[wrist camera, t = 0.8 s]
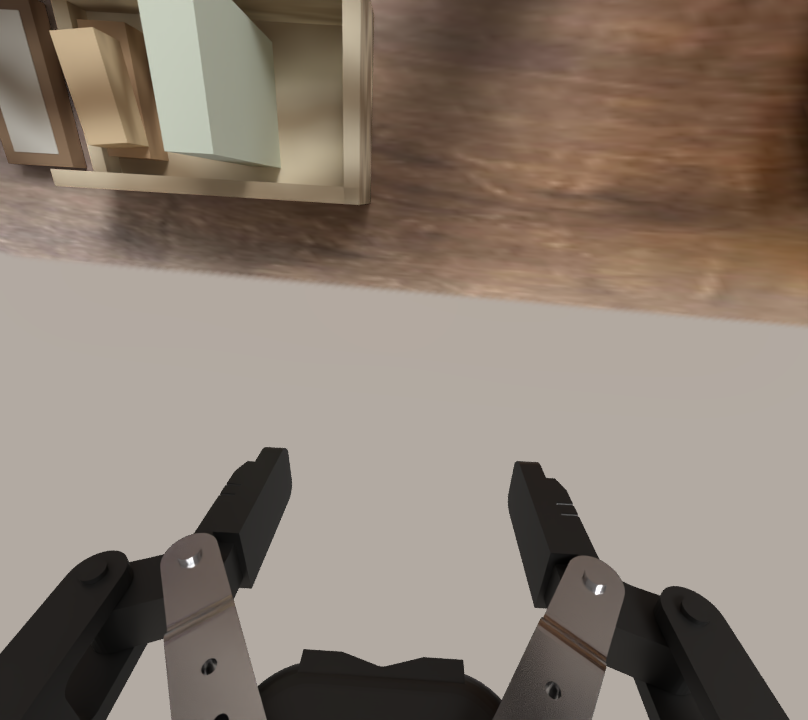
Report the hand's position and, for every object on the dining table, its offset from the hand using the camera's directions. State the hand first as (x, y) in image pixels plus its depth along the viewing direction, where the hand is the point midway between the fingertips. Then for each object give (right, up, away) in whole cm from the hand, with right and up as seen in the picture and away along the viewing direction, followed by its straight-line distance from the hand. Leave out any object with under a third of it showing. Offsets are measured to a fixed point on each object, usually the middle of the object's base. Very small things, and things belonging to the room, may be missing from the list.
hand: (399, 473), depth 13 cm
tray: (-15, +26, +20) cm, 36 cm away
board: (-33, +28, +20) cm, 47 cm away
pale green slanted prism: (-12, +26, +18) cm, 34 cm away
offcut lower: (-23, +26, +19) cm, 39 cm away
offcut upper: (-23, +25, +16) cm, 38 cm away
